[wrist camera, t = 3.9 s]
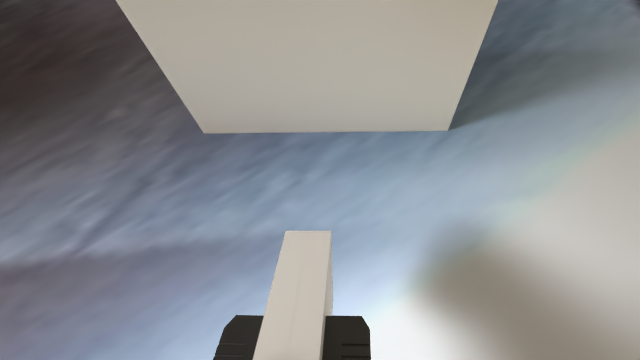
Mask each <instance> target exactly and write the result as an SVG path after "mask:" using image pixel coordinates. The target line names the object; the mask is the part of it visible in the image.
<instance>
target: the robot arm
mask: <svg viewBox="0 0 640 360" xmlns="http://www.w3.org/2000/svg"><path fill="white" fill-rule="evenodd" d="M332 308H333V276H332V242H331V231H286V232H285V236H284V239H283V243H282V247H281V251H280V255H279V259H278V263H277V267H276V271H275V275H274V278H273V282H272V286H271V290H270V294H269V298H268V302H267V306H266V310H265V313H264V316H250V315H236V316H235V317H234V318H233V319H232V320H231V321H230V322H229V323H228V324H227V325H226V327H225V328H224V330H223V333H222V336H221V339H220V342H219V345H218V347H217V350H216V353H215V357H214V358H213V360H371V352H370V329H369V327H368V326H367V324H366V322H365V321H364V319H363V318H362V316H332Z"/></svg>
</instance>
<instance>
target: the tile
mask: <svg viewBox="0 0 640 360" xmlns="http://www.w3.org/2000/svg"><path fill="white" fill-rule="evenodd" d="M116 2H117V3H118V5H119V6H120V8H121V9H122V11H123V12H124V14H125V15H126V17H127V18H128V20H129V21H130V23H131V24H132V26H133V27H134V29H135V30H136V32H137V33H138V35H139V36H140V38H141V39H142V41H143V42H144V44H145V45H146V47H147V48H148V50H149V51H150V53H151V54H152V56H153V57H154V59H155V60H156V62H157V63H158V65H159V66H160V68H161V69H162V71H163V72H164V74H165V75H166V77H167V78H168V80H169V81H170V83H171V85H172V86H173V88H174V89H175V91H176V92H177V94H178V95H179V97H180V98H181V100H182V101H183V103H184V104H185V106H186V107H187V109H188V110H189V112H190V113H191V115H192V116H193V118H194V119H195V121H196V122H197V124H198V125H199V127H200V128H201V130H202V131H203V133H287V132H387V131H448V129H449V126H450V123H451V121H452V118H453V116H454V113H455V111H456V108H457V105H458V103H459V100H460V98H461V95H462V93H463V90H464V87H465V85H466V82H467V80H468V77H469V75H470V72H471V69H472V67H473V64H474V62H475V59H476V57H477V54H478V51H479V49H480V46H481V44H482V41H483V39H484V36H485V33H486V31H487V28H488V26H489V23H490V21H491V18H492V15H493V13H494V10H495V8H496V5H497V3H498V0H116Z"/></svg>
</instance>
